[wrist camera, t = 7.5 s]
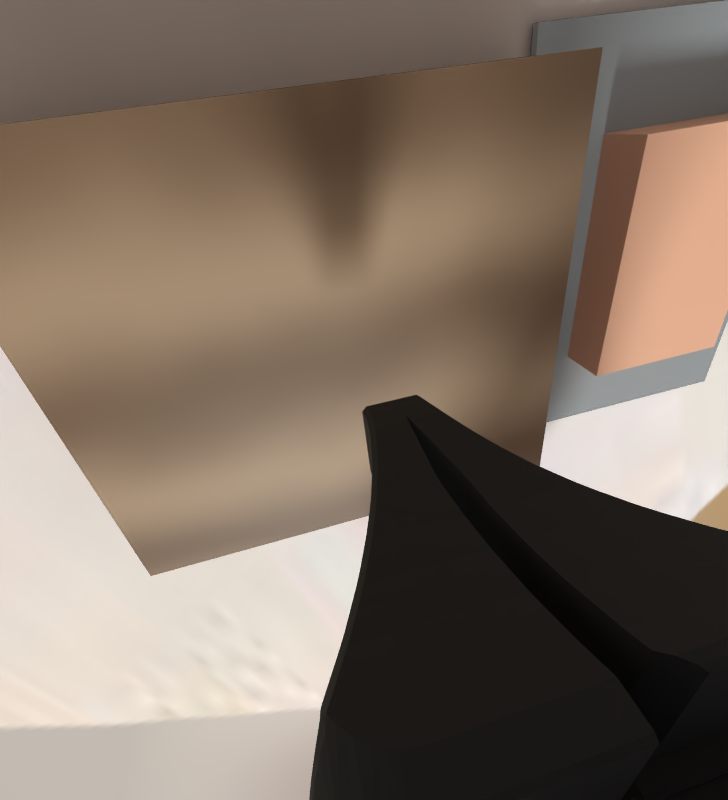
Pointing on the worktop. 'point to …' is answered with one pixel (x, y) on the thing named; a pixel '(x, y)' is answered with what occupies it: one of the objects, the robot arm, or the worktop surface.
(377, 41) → the worktop surface
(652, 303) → the peach upright slab
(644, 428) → the worktop surface
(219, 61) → the worktop surface
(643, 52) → the mat
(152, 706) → the worktop surface
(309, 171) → the brown flat block
